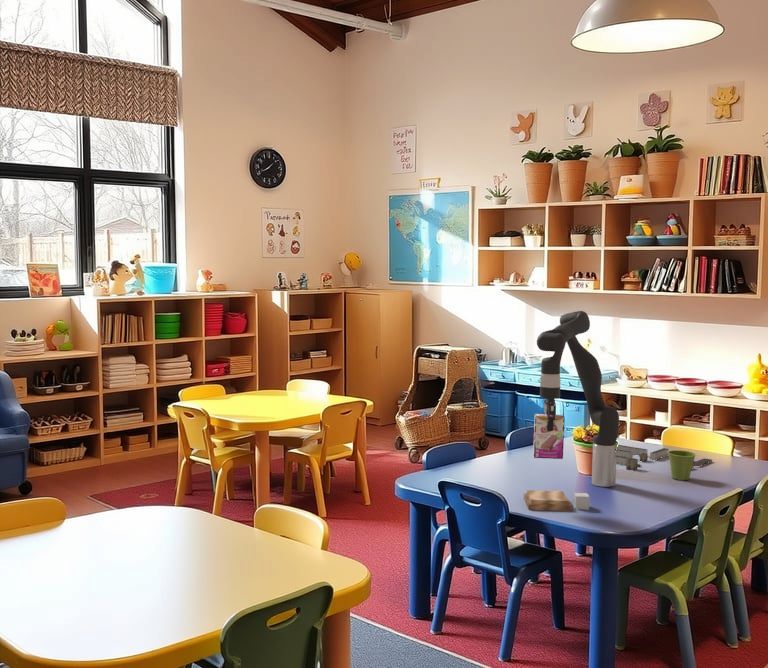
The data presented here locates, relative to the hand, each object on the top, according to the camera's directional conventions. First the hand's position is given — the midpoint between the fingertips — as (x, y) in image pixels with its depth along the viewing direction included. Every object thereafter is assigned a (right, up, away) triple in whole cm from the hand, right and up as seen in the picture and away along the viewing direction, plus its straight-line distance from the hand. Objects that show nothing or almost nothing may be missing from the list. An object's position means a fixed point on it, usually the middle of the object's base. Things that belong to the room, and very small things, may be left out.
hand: (549, 429), depth 337 cm
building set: (+60, -24, +78) cm, 101 cm away
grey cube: (+12, -30, -1) cm, 32 cm away
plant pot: (+65, -26, +46) cm, 84 cm away
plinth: (0, -29, +2) cm, 29 cm away
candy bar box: (0, -11, +1) cm, 11 cm away
